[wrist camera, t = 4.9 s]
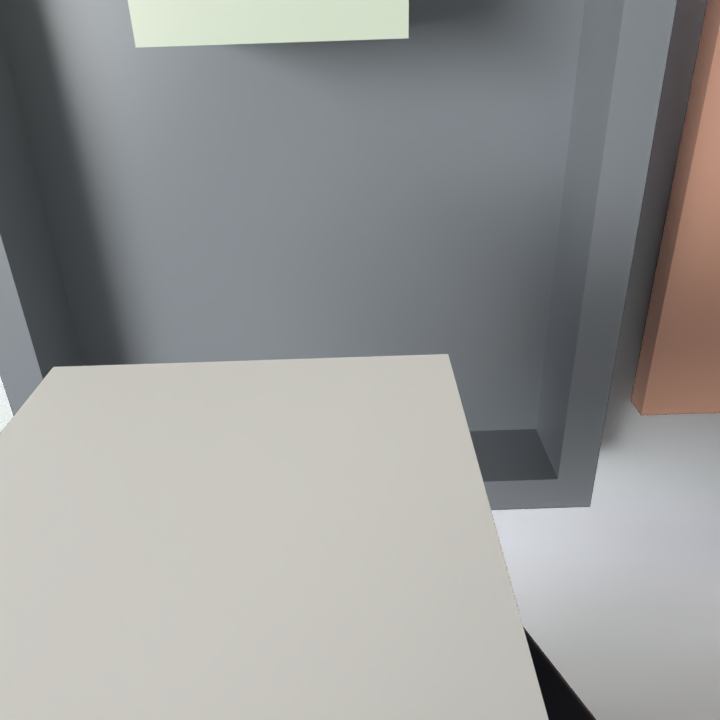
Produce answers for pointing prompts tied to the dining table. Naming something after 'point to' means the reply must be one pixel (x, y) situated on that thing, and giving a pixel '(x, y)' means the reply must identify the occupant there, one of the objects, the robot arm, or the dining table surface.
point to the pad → (689, 258)
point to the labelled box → (254, 548)
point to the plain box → (265, 21)
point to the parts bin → (340, 206)
